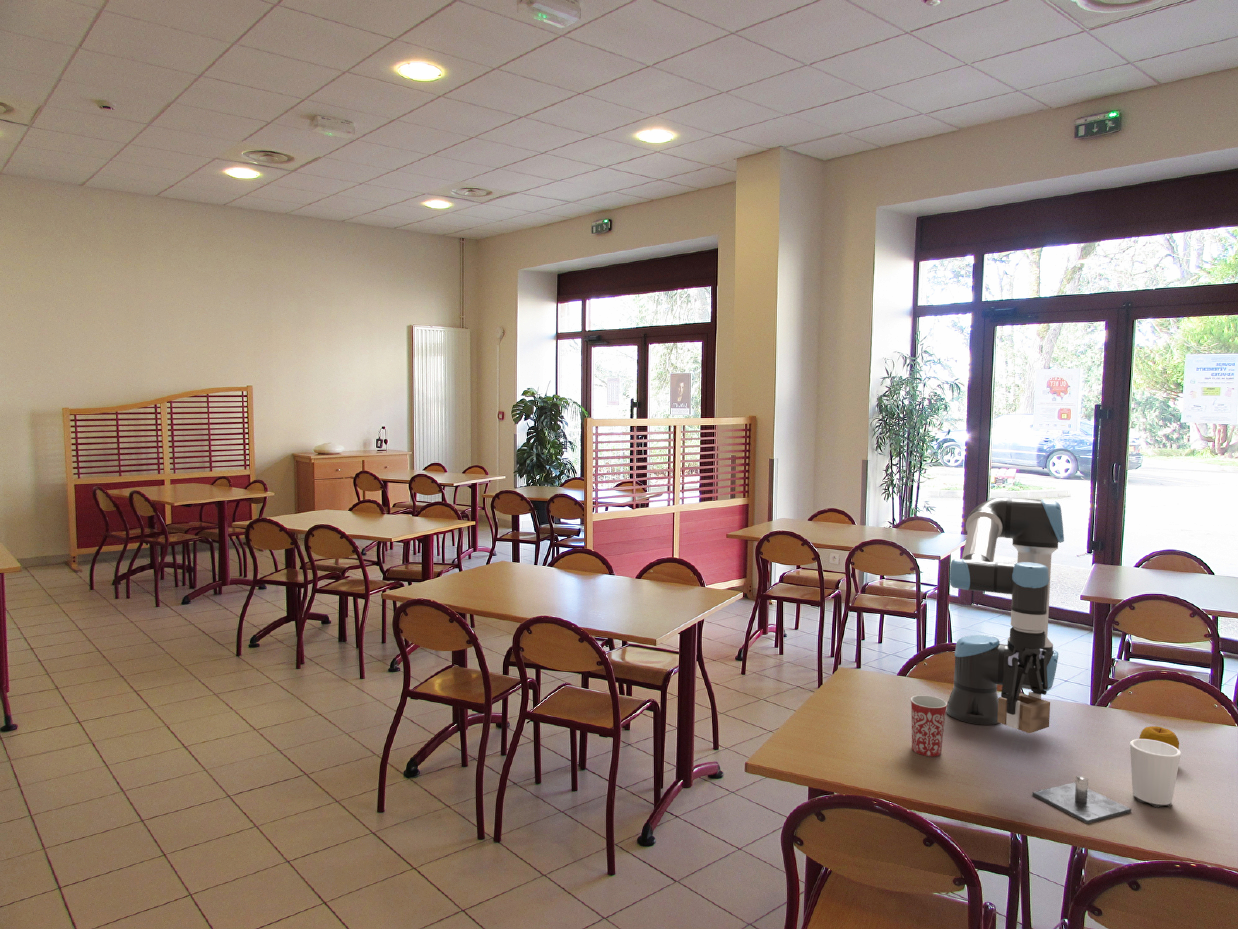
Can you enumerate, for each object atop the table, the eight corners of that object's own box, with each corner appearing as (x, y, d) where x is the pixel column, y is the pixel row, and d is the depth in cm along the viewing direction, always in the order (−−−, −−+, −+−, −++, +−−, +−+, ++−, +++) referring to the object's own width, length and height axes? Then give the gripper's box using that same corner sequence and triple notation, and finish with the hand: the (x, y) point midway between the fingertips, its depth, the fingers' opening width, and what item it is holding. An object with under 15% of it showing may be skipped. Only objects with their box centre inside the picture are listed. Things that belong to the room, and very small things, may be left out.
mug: (947, 760, 208) (949, 708, 208) (910, 756, 211) (912, 705, 210) (940, 741, 221) (942, 692, 220) (905, 737, 223) (907, 689, 222)
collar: (1016, 716, 198) (1018, 692, 198) (1049, 727, 192) (1050, 702, 191) (997, 722, 194) (998, 697, 194) (1029, 733, 187) (1030, 708, 187)
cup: (1170, 795, 191) (1173, 742, 190) (1184, 814, 182) (1187, 759, 181) (1121, 788, 194) (1124, 736, 193) (1132, 806, 185) (1136, 752, 184)
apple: (1141, 764, 207) (1143, 731, 207) (1134, 752, 215) (1136, 719, 215) (1181, 770, 204) (1183, 736, 204) (1172, 757, 212) (1174, 724, 212)
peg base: (1074, 785, 195) (1075, 761, 195) (1131, 812, 182) (1132, 786, 182) (1032, 795, 190) (1033, 770, 189) (1087, 824, 177) (1088, 797, 176)
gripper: (1037, 620, 200) (1032, 710, 202) (986, 631, 189) (982, 726, 191) (1067, 627, 194) (1063, 720, 195) (1017, 638, 183) (1012, 737, 184)
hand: (1023, 723), depth 193 cm, fingers closed on collar, 8 cm apart
